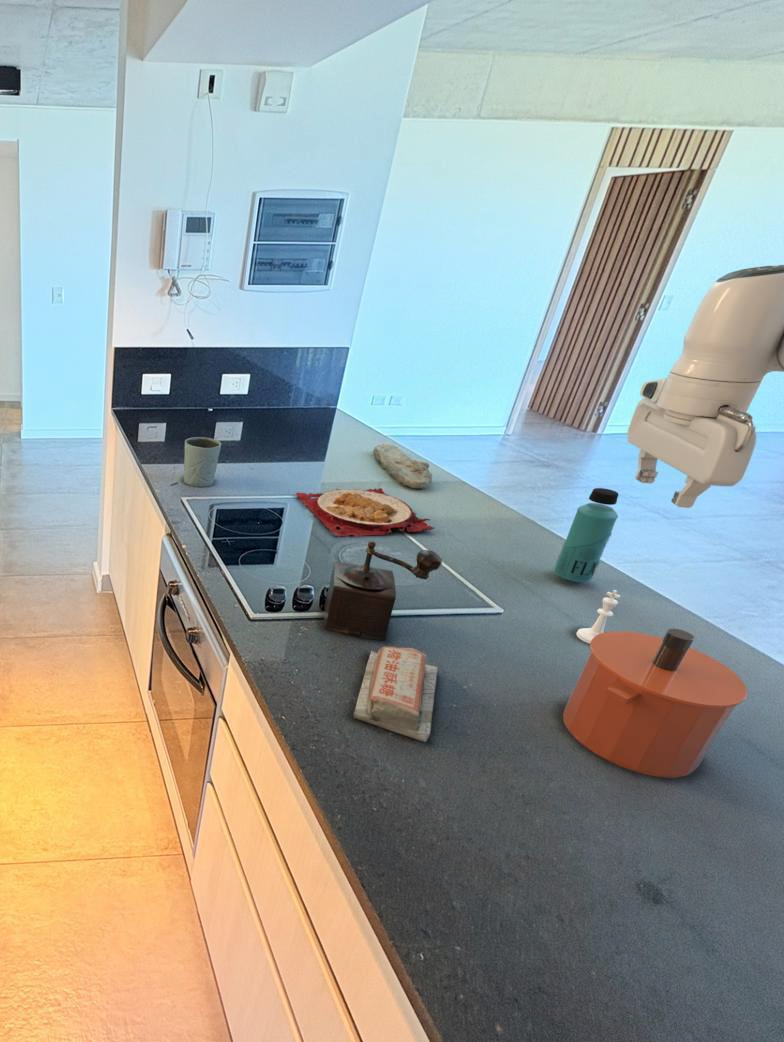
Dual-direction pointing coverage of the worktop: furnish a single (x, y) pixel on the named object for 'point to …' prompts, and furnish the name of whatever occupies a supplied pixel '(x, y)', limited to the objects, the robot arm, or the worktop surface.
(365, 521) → the plate with food
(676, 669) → the lid
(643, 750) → the pot
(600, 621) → the chess piece
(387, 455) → the long grey stone
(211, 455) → the green ceramic cup
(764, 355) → the robot arm
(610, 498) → the beverage bottle
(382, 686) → the packaged product
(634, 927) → the worktop surface
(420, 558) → the brown manual coffee grinder
